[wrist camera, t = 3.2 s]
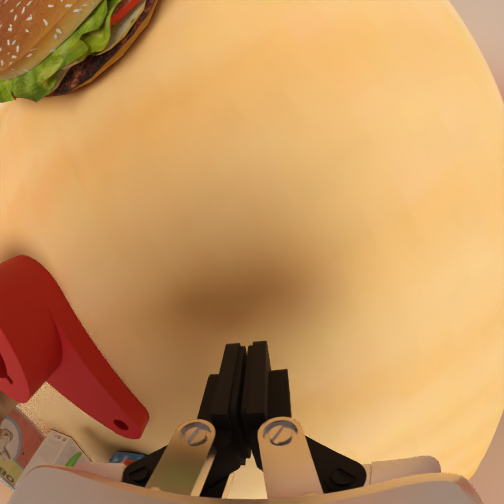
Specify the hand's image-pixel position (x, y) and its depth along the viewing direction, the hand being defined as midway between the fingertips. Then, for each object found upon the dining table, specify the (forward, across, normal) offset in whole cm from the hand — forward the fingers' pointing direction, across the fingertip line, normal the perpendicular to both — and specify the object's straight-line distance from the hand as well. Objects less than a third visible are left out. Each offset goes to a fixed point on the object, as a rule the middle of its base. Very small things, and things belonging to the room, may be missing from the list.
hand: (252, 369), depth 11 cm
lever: (+5, +16, +2) cm, 17 cm away
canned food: (+5, +39, +19) cm, 44 cm away
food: (+5, +9, -22) cm, 24 cm away
